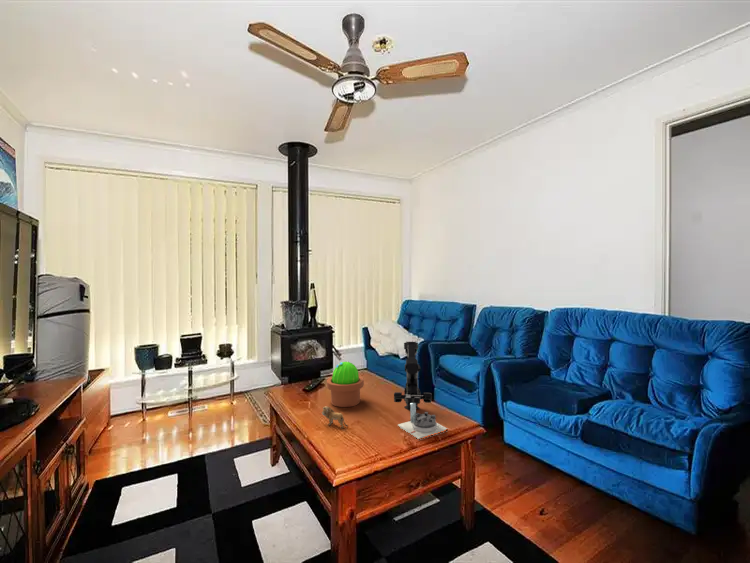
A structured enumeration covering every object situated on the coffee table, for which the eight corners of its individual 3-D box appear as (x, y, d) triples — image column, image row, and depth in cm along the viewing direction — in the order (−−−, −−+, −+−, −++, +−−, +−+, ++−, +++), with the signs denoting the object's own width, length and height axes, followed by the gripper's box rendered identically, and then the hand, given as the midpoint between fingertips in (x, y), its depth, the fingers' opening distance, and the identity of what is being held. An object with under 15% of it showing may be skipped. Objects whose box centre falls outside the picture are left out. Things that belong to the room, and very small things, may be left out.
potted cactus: (366, 396, 222) (365, 356, 222) (361, 409, 200) (360, 366, 200) (331, 395, 224) (331, 356, 224) (323, 408, 203) (322, 365, 202)
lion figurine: (320, 425, 181) (320, 407, 181) (325, 421, 186) (325, 404, 186) (345, 429, 175) (345, 411, 175) (350, 425, 180) (350, 407, 180)
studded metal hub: (423, 416, 182) (423, 393, 182) (440, 423, 174) (440, 399, 173) (403, 424, 173) (402, 400, 172) (420, 432, 164) (420, 407, 164)
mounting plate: (397, 426, 178) (397, 420, 178) (426, 418, 187) (426, 413, 187) (418, 440, 163) (418, 433, 163) (447, 430, 172) (447, 424, 172)
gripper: (429, 391, 186) (431, 421, 176) (394, 391, 188) (394, 420, 177) (430, 381, 178) (433, 411, 168) (394, 381, 180) (393, 411, 169)
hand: (413, 414), depth 171 cm, fingers closed
